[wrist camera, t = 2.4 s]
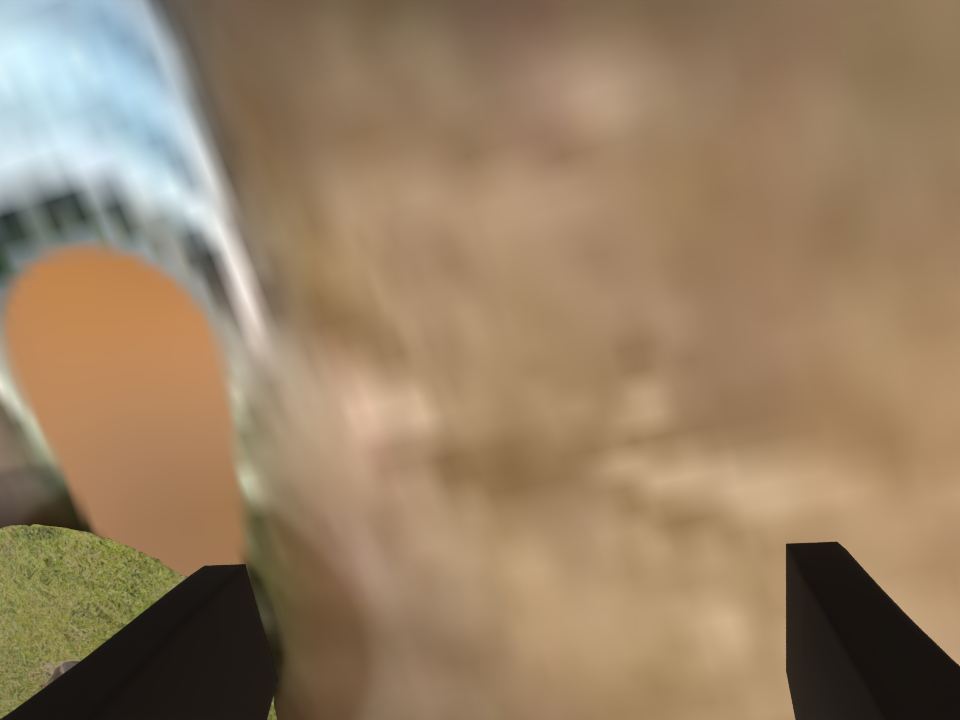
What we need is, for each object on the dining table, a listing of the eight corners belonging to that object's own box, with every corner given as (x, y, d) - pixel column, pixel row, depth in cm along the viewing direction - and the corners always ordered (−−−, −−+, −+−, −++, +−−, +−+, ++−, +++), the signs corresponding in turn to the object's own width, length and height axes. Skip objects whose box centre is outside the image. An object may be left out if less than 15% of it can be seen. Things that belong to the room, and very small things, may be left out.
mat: (-70, 443, 25) (-120, 480, 23) (323, 548, 25) (301, 593, 23) (-58, 730, 30) (-100, 779, 28) (271, 819, 30) (251, 874, 28)
